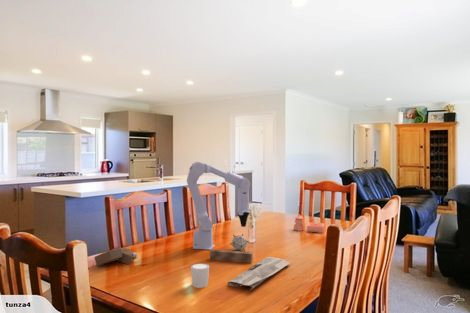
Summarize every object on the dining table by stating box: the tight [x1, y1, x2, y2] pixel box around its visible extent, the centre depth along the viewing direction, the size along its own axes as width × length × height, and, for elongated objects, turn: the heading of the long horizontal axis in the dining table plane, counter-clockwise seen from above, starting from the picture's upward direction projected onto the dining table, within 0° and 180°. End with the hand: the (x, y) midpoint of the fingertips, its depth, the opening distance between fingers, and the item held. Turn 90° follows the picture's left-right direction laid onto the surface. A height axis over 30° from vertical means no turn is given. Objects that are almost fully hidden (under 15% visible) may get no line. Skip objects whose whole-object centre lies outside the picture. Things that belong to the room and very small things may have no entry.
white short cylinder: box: [190, 263, 210, 289], centre depth 126 cm, size 7×7×7 cm
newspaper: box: [227, 256, 290, 291], centre depth 137 cm, size 35×12×4 cm, turn 150°
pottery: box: [293, 213, 325, 234], centre depth 213 cm, size 18×10×10 cm, turn 72°
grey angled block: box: [94, 247, 138, 266], centre depth 152 cm, size 8×13×18 cm
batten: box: [209, 249, 253, 264], centre depth 155 cm, size 19×2×4 cm, turn 76°
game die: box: [229, 233, 249, 252], centre depth 170 cm, size 9×8×10 cm
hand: (243, 226), depth 180 cm, fingers closed
